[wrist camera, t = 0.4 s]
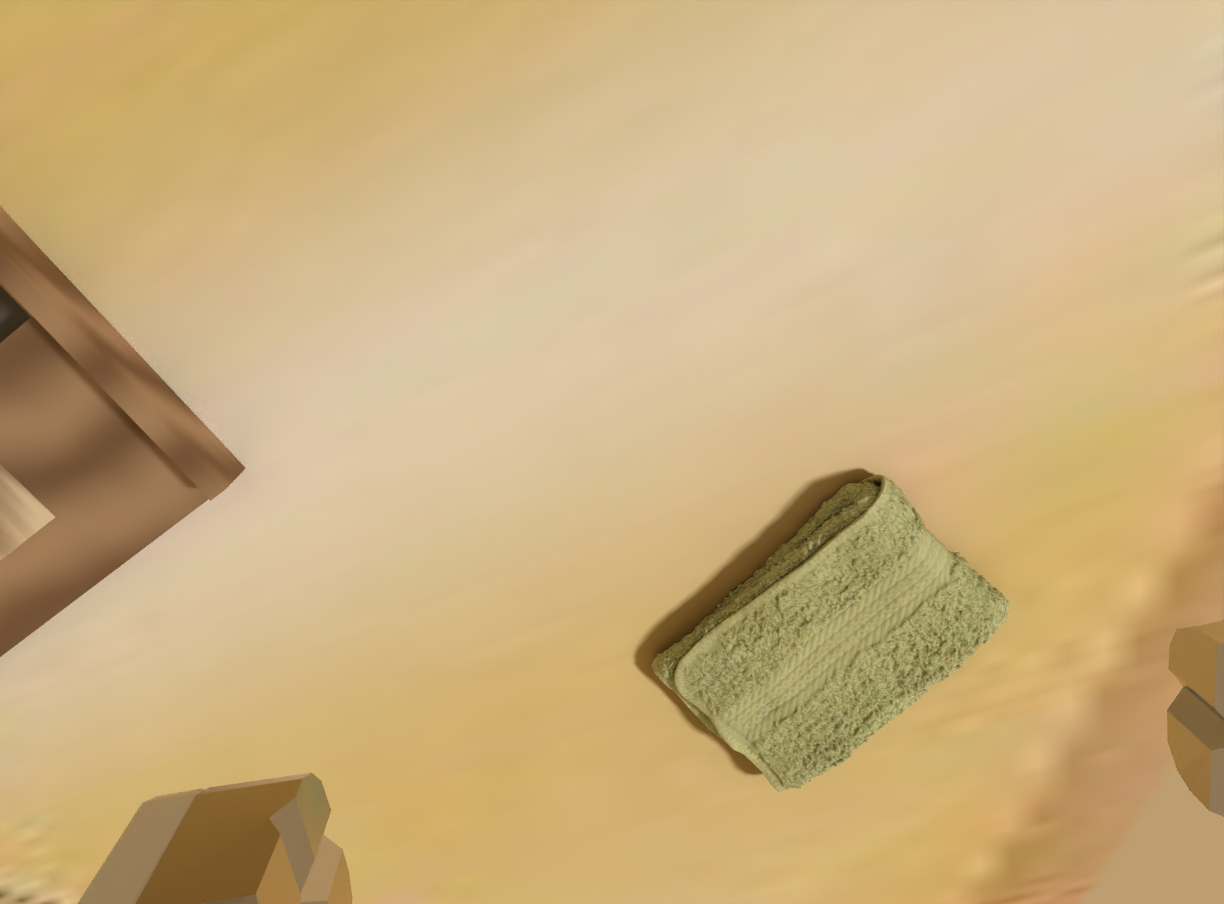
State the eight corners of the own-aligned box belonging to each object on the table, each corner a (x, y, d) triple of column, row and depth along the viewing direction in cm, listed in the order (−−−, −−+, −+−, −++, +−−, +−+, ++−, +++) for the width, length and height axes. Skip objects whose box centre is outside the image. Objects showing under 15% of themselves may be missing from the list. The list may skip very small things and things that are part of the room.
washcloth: (638, 657, 55) (641, 689, 52) (866, 453, 51) (883, 474, 48) (787, 782, 59) (798, 818, 56) (1012, 599, 55) (1037, 628, 52)
